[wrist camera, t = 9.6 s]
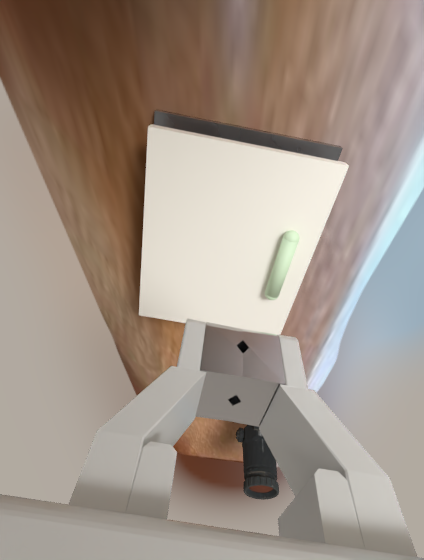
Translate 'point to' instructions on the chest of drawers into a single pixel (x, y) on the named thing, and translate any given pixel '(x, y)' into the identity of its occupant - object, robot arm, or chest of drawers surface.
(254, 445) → the scope
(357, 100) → the chest of drawers surface
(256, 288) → the panel
